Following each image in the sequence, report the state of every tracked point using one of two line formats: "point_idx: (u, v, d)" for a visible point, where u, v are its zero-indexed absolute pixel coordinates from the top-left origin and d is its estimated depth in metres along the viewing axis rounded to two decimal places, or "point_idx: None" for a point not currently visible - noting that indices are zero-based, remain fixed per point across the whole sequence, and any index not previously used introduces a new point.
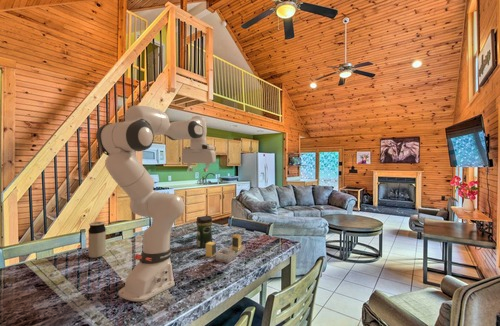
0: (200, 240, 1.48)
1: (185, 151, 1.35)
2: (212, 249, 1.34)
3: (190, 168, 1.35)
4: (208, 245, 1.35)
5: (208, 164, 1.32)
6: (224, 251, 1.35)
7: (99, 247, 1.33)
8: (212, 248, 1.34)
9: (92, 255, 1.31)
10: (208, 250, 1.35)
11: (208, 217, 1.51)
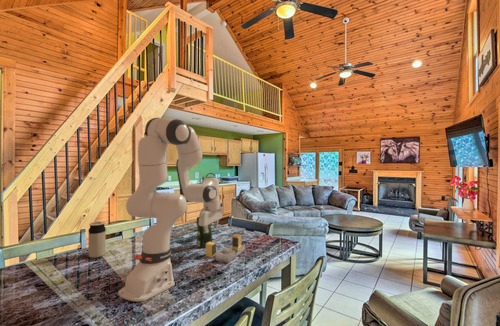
0: (200, 240, 1.48)
1: (206, 213, 1.29)
2: (212, 249, 1.34)
3: (208, 229, 1.32)
4: (208, 245, 1.35)
5: None
6: (224, 251, 1.35)
7: (99, 247, 1.33)
8: (212, 248, 1.34)
9: (92, 255, 1.31)
10: (208, 250, 1.35)
11: None
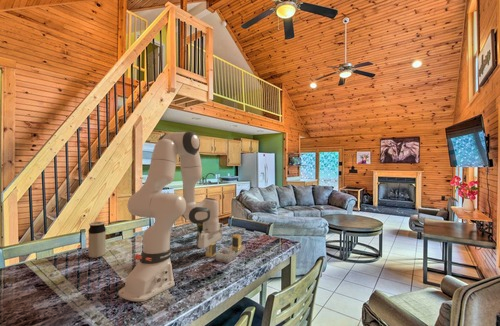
0: None
1: (206, 235, 1.29)
2: (212, 249, 1.34)
3: (209, 250, 1.34)
4: None
5: None
6: (224, 251, 1.35)
7: (99, 247, 1.33)
8: (212, 248, 1.34)
9: (92, 255, 1.31)
10: None
11: None
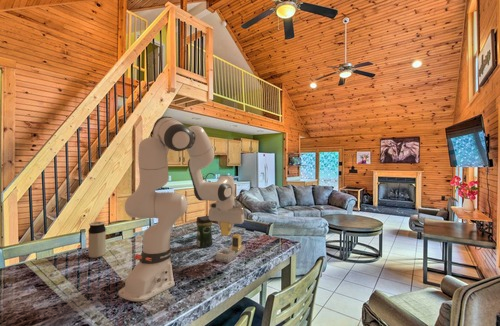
0: (200, 240, 1.48)
1: None
2: None
3: (230, 227, 1.31)
4: (229, 223, 1.31)
5: None
6: (224, 251, 1.35)
7: (99, 247, 1.33)
8: None
9: (92, 255, 1.31)
10: None
11: (208, 217, 1.51)
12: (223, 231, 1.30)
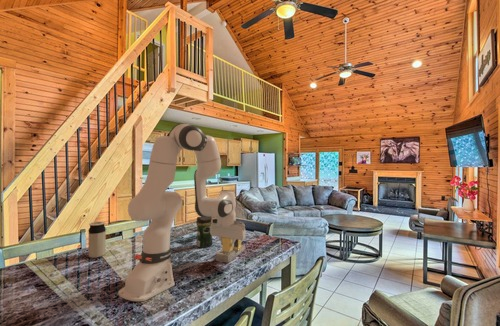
0: (200, 240, 1.48)
1: None
2: None
3: (232, 242, 1.30)
4: (230, 238, 1.30)
5: None
6: (224, 251, 1.35)
7: (99, 247, 1.33)
8: None
9: (92, 255, 1.31)
10: None
11: (208, 217, 1.51)
12: (225, 247, 1.29)
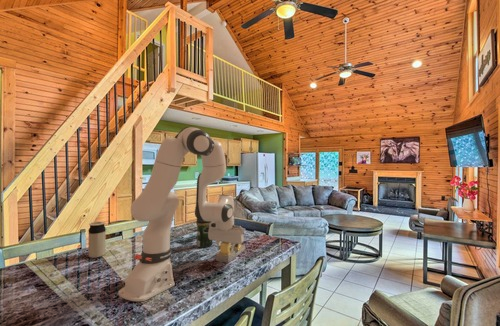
0: (200, 240, 1.48)
1: None
2: None
3: None
4: (228, 244, 1.31)
5: None
6: None
7: (99, 247, 1.33)
8: None
9: (92, 255, 1.31)
10: (228, 249, 1.31)
11: None
12: (223, 252, 1.30)
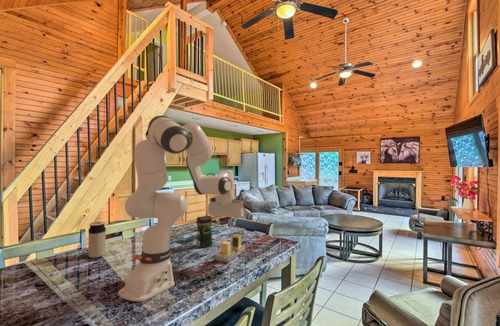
0: (200, 240, 1.48)
1: None
2: None
3: None
4: (228, 244, 1.31)
5: None
6: None
7: (99, 247, 1.33)
8: None
9: (92, 255, 1.31)
10: (228, 249, 1.31)
11: (208, 217, 1.51)
12: (223, 252, 1.30)
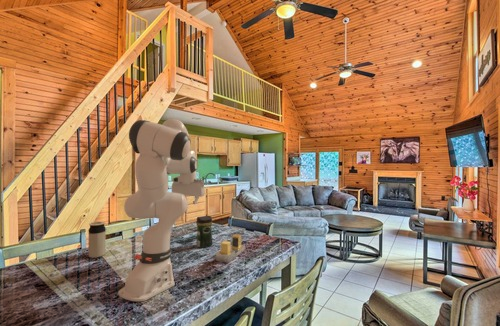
0: (200, 240, 1.48)
1: None
2: None
3: None
4: (228, 244, 1.31)
5: None
6: None
7: (99, 247, 1.33)
8: None
9: (92, 255, 1.31)
10: (228, 249, 1.31)
11: (208, 217, 1.51)
12: (223, 252, 1.30)
